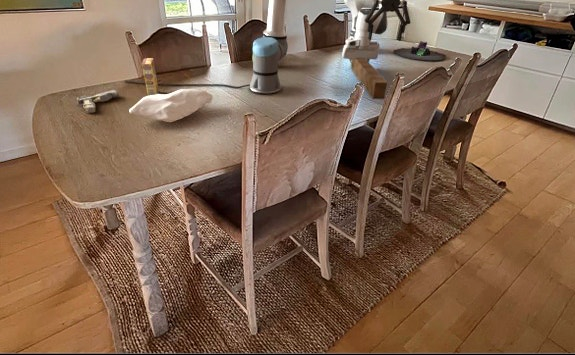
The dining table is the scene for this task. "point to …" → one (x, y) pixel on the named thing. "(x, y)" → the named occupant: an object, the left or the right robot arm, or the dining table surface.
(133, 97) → the dining table surface
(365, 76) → the bar
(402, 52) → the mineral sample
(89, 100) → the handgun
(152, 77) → the candy box
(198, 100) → the crumpled cloth
